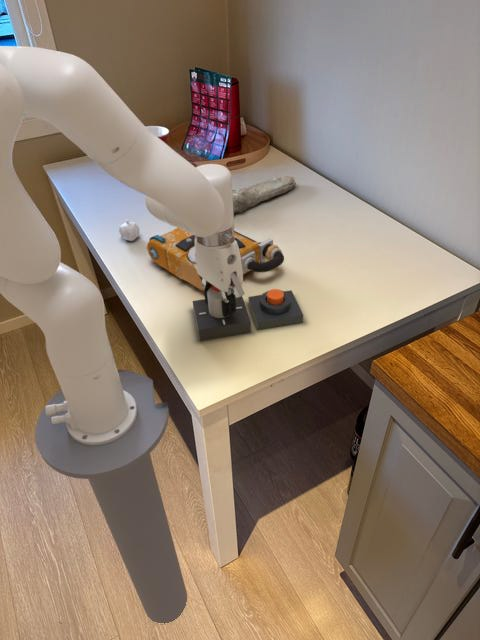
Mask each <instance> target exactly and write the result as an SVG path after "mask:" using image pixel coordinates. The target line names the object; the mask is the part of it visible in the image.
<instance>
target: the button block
mask: <svg viewBox="0 0 480 640" xmlns="http://www.w3.org/2000/svg"><path fill="white" fill-rule="evenodd" d="M268 291H269V290H267V291H264V292H263V293H262V294H259V295H252V296H248V306H249V309H250V312H251V315H252V318H253V320H254V321H253V322H254V323H255V327H256V329H257V330H265V329H272V328H278V327H283V326H290V325H297V324H302V323H303V322H304V314H303V311H302V309H301V307H300V304H299V303H298V301H297V298H296V296H295V294H294V293H293V290H291V289H290V290H285V291H284V290H281V291H282V292H283V293H284V301H283V303H282V304H280V305H271V304H269V303H268V302H267V292H268Z"/></svg>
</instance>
